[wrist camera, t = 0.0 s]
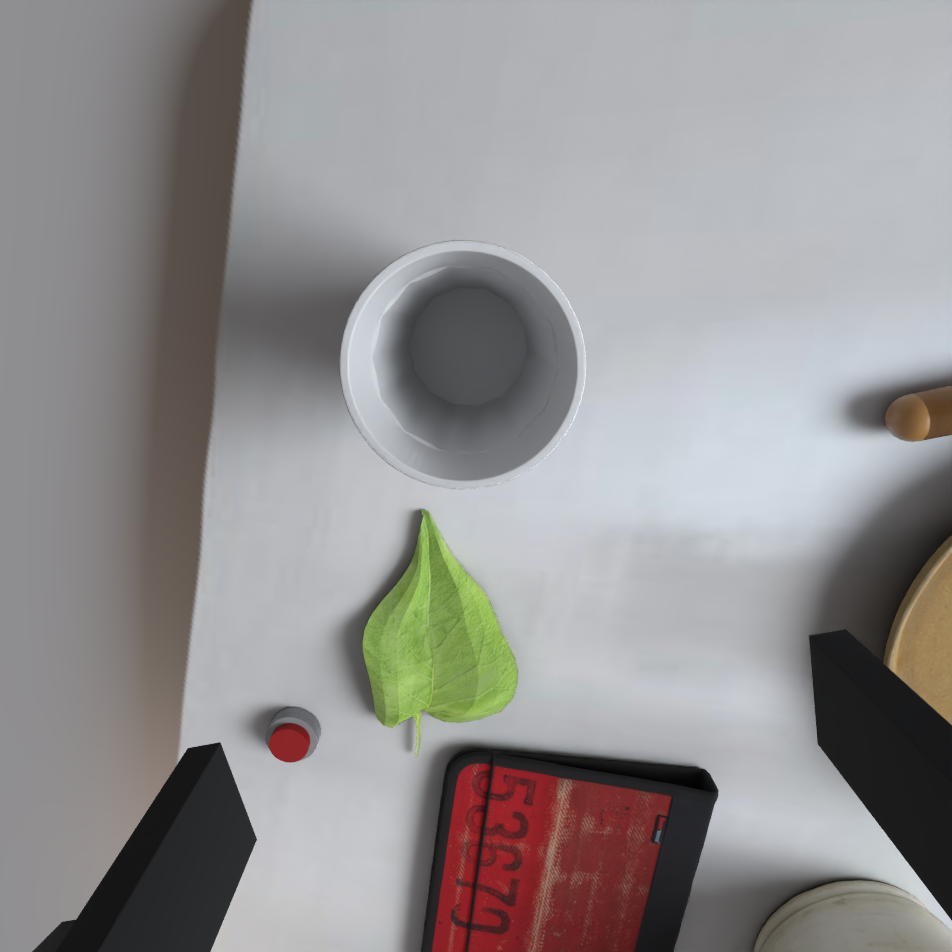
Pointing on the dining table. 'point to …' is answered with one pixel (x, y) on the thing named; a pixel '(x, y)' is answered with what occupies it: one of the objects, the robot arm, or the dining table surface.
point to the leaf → (437, 643)
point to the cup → (462, 364)
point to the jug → (854, 922)
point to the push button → (293, 734)
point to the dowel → (921, 415)
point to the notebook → (564, 854)
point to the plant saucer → (926, 634)
